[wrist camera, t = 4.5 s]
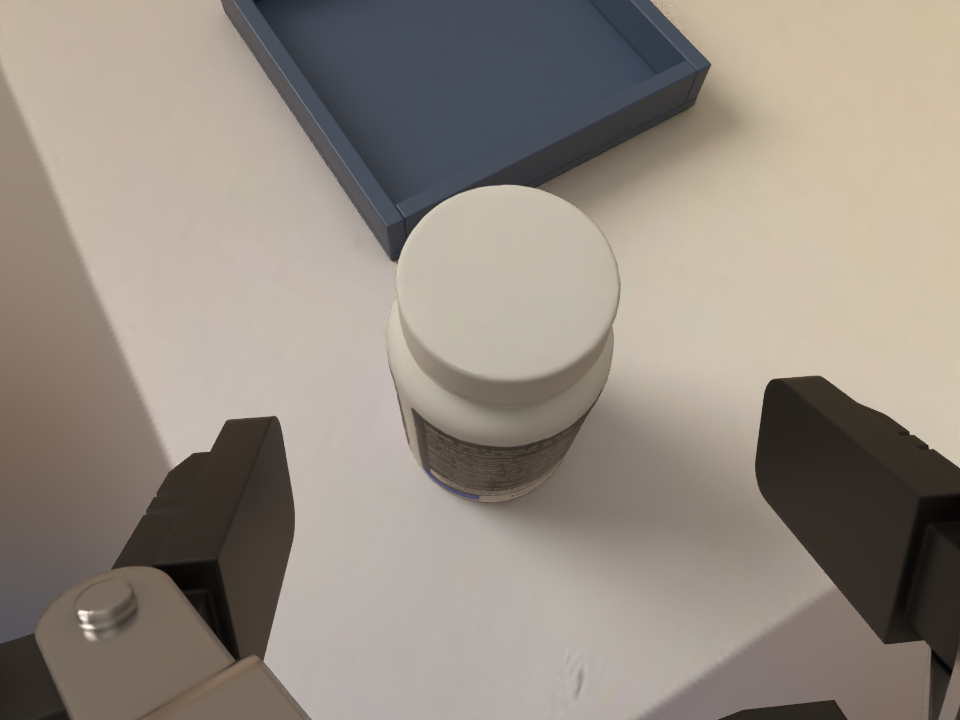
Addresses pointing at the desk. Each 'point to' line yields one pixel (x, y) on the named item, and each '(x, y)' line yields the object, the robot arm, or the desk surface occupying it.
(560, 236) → the pill bottle
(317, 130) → the blue tray
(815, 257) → the desk surface
